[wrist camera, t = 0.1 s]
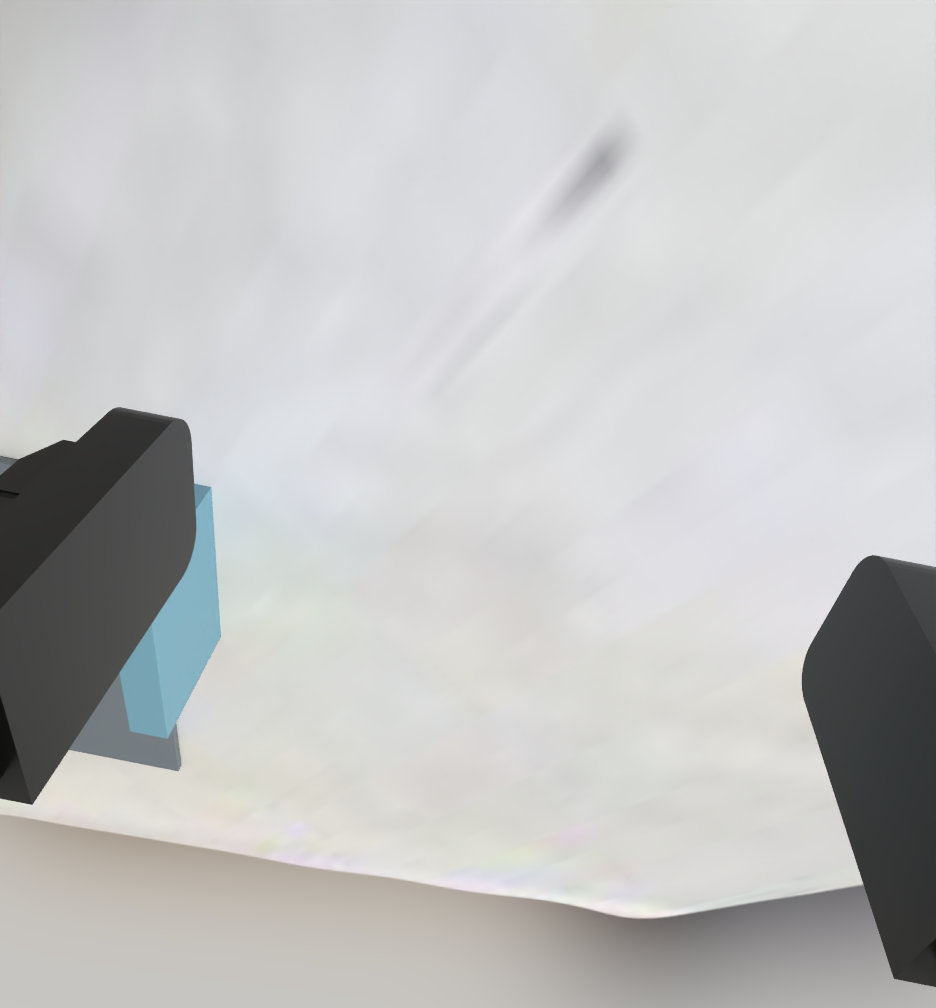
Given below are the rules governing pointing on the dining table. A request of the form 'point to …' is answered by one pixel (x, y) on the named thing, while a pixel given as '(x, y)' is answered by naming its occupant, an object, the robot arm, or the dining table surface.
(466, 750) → the dining table surface
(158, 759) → the mat
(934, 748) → the robot arm
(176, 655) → the card box
